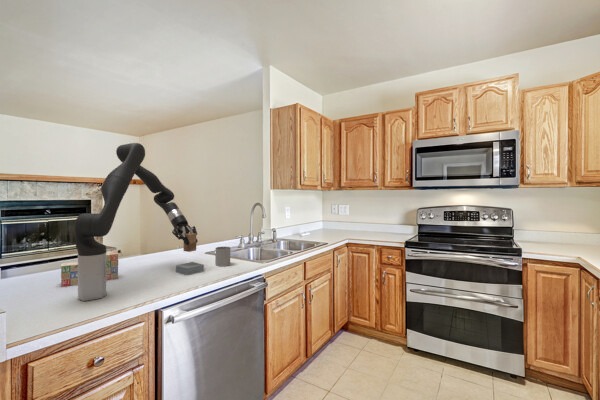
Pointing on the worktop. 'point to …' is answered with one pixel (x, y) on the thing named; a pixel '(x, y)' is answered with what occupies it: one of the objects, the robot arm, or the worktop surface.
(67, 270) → the stack of blocks
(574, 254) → the worktop surface
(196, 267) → the slate block
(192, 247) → the walnut block
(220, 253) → the cup
